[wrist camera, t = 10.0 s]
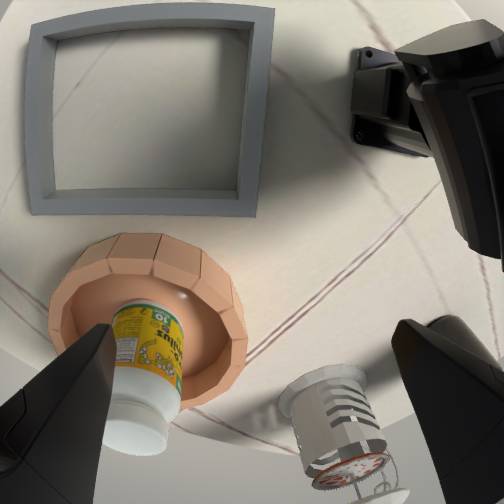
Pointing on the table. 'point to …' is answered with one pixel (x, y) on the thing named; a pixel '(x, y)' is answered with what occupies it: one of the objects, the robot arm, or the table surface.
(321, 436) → the french press
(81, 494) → the robot arm
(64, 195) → the open rectangular frame
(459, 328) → the supplement bottle
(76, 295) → the bowl
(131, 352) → the supplement bottle
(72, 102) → the table surface
